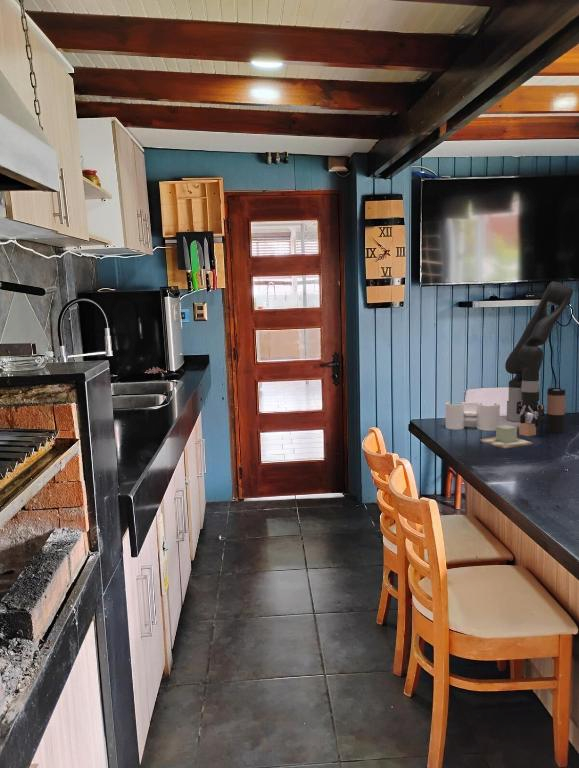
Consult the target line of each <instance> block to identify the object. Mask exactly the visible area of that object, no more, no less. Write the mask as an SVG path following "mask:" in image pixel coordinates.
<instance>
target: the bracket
mask: <svg viewBox="0 0 579 768" xmlns="http://www.w3.org/2000/svg"><path fill="white" fill-rule="evenodd" d="M500 409H501V405H500V403H498V402H494V403H493V405H487V404H486V405H484V404H483V402H482V401H481V402H480V401H479V402H467V401H465V402H464V401H460V404H451V402H450V401H447V402H445V428H446V429H448V430H463V429H465V428H476V429H477V430H481V431H485V432H486V431H489V432H490V431H491V432H493V431H496V426H500V423H501V422H500V421H501V420H500V417H501V415H500V413H501V412H500V411H501V410H500Z"/></svg>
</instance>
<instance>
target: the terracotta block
mask: <svg viewBox="0 0 579 768" xmlns="http://www.w3.org/2000/svg"><path fill="white" fill-rule="evenodd" d="M518 425H519V426H518V434H519V435H522V436H525V437H531V436H536V435H537V427H535V423H531V422H525V423H519V424H518Z"/></svg>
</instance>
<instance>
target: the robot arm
mask: <svg viewBox="0 0 579 768" xmlns="http://www.w3.org/2000/svg"><path fill="white" fill-rule="evenodd" d="M573 293H574V289H573V288H572V287H571V286H568V285H565V284H562V283H559V282H557V281H554V280H553V281H551V282H550V283H548V285H547V287H546V289H545V290H544V293H543V295H542V297H541V299H540V301H539V303H538V305H537V308H536V310H535V311H534V314H533V315H532V317H531V319H530V320H529V322H528V324H527V325H526V327H525V328H524V331H523V333H522V335H521V336H520V338H519V340H518V342H517V344H516V346H515V347H514V348H513V349H512V351H511V353H509V355H508V357H507V359H506V360H505V365H504V367H505V370H506V372H507V373H508V374H509V375H514V377H513V378H512V379H510V380H509V381H508V398H507V399H508V400H506V420H508V421H510V422H515V423H516V422H520V423H526V422H527V421H528V413H529V414H532V416H533V417H534V424H535V427H536V428H540V427H541V422H542V421H541V419H545V415H546V414H545V404H539V401H540V389H541V388H540V370H541V367H542V363H543V360H544V351H543V349H542V348H541V347H540V346H543V345H545V344H546V342H547V340H548V338H549V336H550V334H551V332H552V330H553V328H554V327H555V325H556V324H557V322H558V320H559V319H560V318H561V316H562V314H563V312H564V311H565V310H566V307H567V306H568V304H569V303H570V300H571V299H572V296H573ZM548 303H552V304H553V305H557V307H556V308H555V310H553V311H552V312H551V313H549V314H548V312H547V311H548V310H547V307H548ZM520 423H519V424H520Z"/></svg>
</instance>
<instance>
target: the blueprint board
mask: <svg viewBox="0 0 579 768" xmlns="http://www.w3.org/2000/svg"><path fill="white" fill-rule="evenodd" d="M480 442H482V443H486V444H489V445H492V446H495V447H498V448H501V449H510V448H517V447H523V446H524V447H525V446H529V445H533V442H531V441H528V440H526V439H523V438H518V437H517V441H514V442H508V443H505V442H501V441H498V440H496V436H494V437H487V438H486V437H485V438H480Z"/></svg>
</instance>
